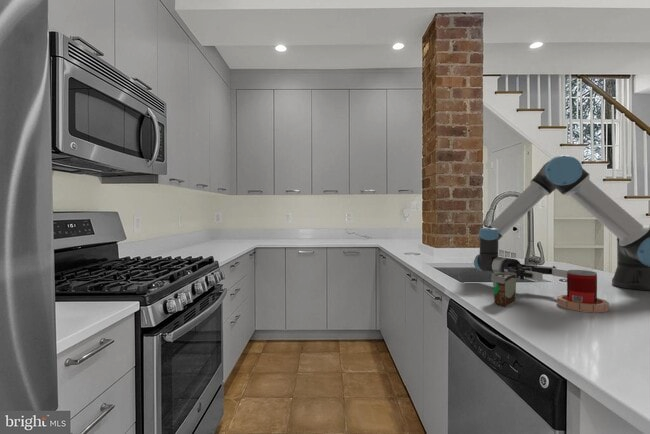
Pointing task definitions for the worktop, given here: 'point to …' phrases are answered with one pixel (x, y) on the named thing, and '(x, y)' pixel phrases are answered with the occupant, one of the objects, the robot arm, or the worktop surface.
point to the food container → (504, 288)
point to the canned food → (582, 286)
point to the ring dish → (583, 305)
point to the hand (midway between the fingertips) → (556, 275)
